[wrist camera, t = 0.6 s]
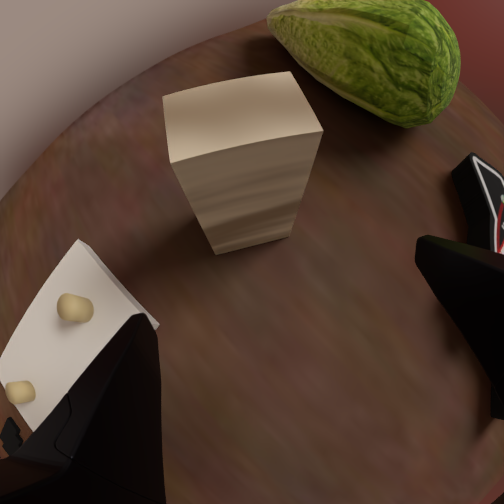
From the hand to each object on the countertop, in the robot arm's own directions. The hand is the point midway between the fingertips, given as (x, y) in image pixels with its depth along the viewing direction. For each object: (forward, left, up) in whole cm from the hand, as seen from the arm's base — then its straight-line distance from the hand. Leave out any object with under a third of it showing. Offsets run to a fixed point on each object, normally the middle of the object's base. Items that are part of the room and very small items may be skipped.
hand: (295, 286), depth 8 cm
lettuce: (+12, -27, -14) cm, 33 cm away
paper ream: (+6, -4, -13) cm, 15 cm away
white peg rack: (+9, +16, -13) cm, 23 cm away
